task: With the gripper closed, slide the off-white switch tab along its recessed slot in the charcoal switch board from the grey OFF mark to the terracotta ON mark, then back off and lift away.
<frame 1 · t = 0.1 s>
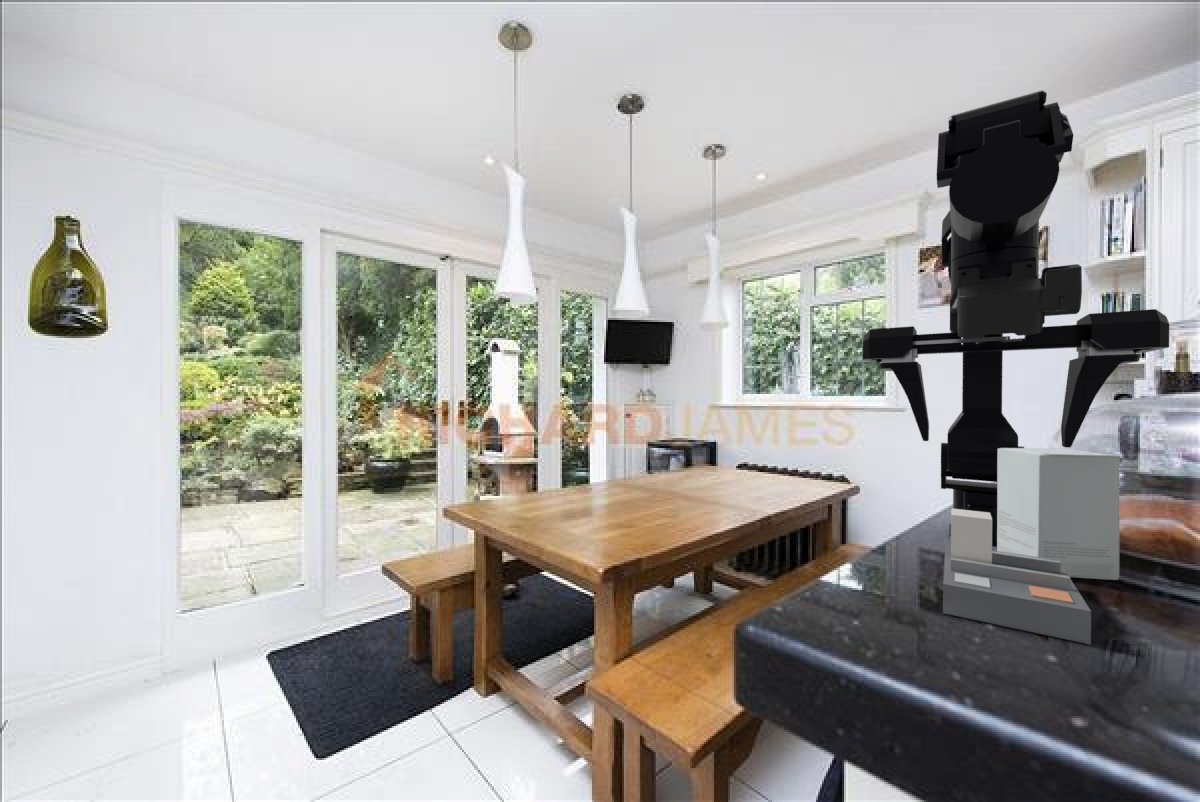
hand: (991, 443, 41), 14 cm above the countertop, fingers open, 9 cm apart
switch board: (1004, 598, 45), on the countertop
switch tab: (970, 539, 46), point 5 cm above the countertop, slide at 0.0 cm
supplement box: (1053, 568, 53), on the countertop
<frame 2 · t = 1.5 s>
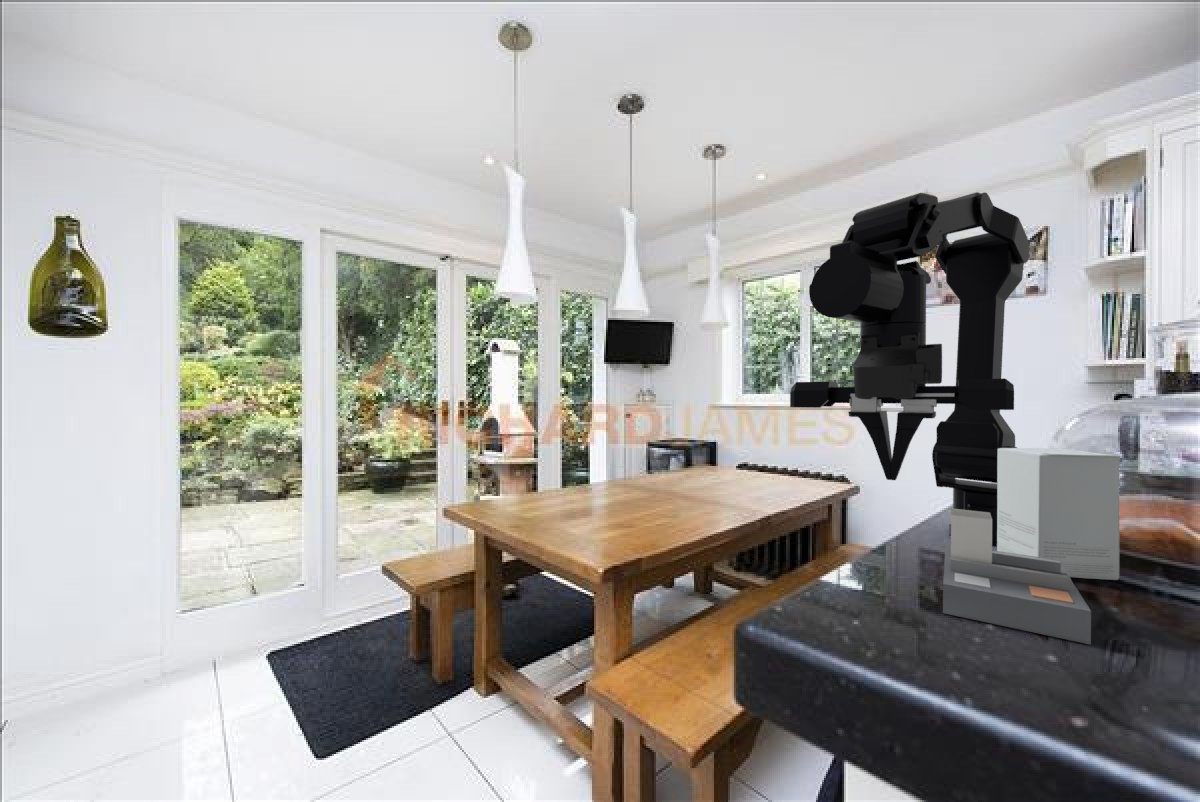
hand: (891, 479, 50), 10 cm above the countertop, fingers closed
nothing on the countertop moved.
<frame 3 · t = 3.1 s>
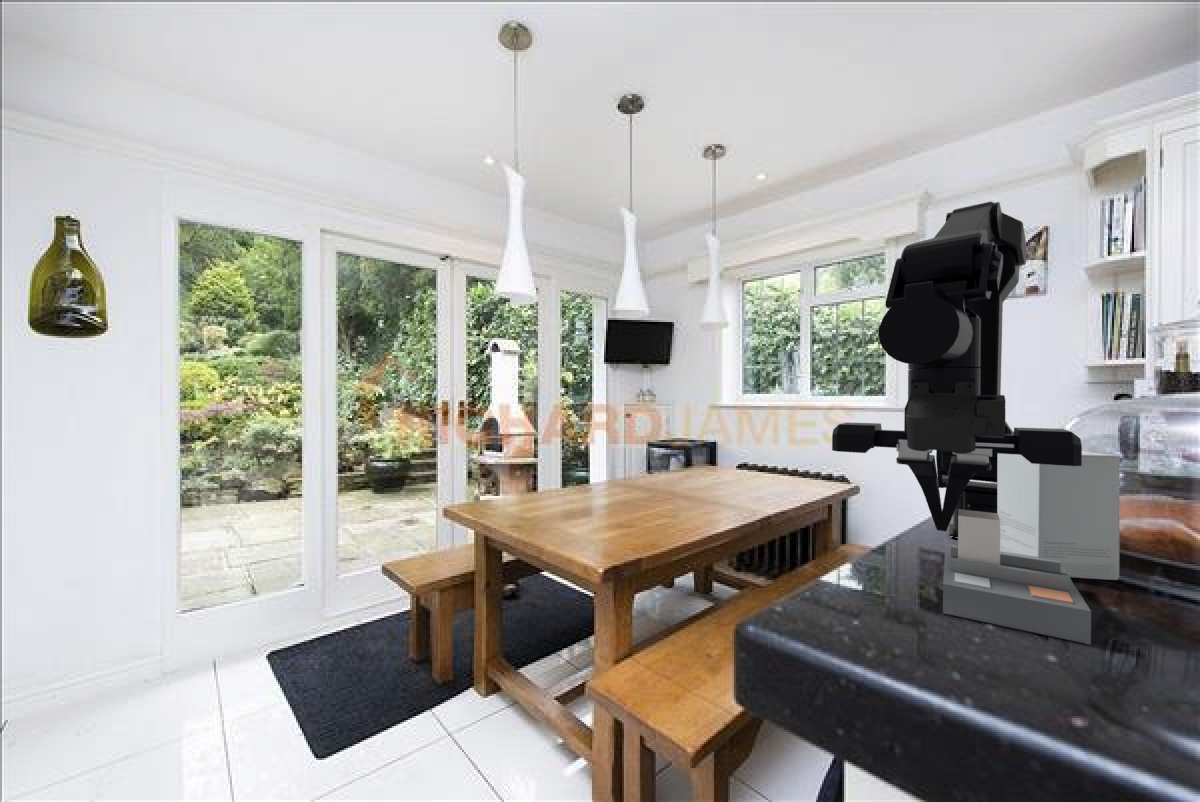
hand: (941, 530, 47), 5 cm above the countertop, fingers closed
switch tab: (978, 540, 46), point 5 cm above the countertop, slide at 0.6 cm, touching gripper
everything else where it was.
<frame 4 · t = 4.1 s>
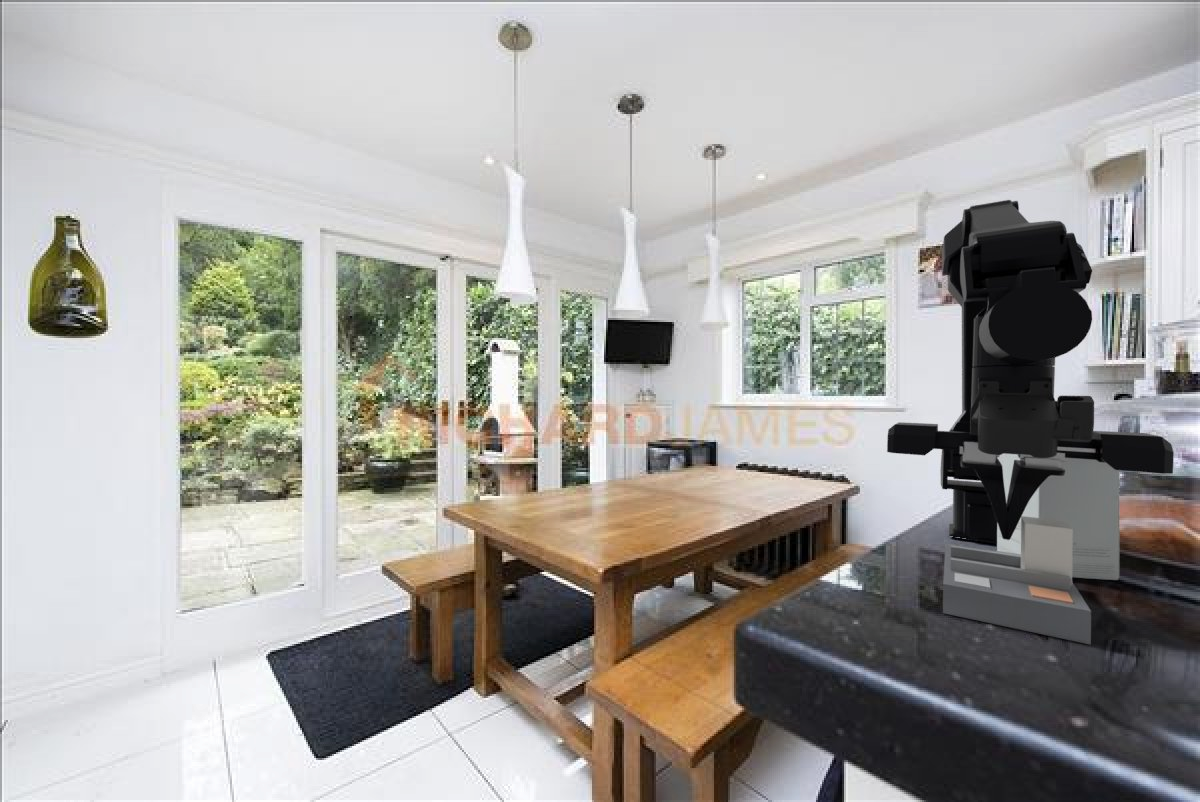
hand: (1006, 538, 44), 5 cm above the countertop, fingers closed
switch tab: (1045, 549, 43), point 5 cm above the countertop, slide at 5.2 cm, touching gripper
everything else where it was.
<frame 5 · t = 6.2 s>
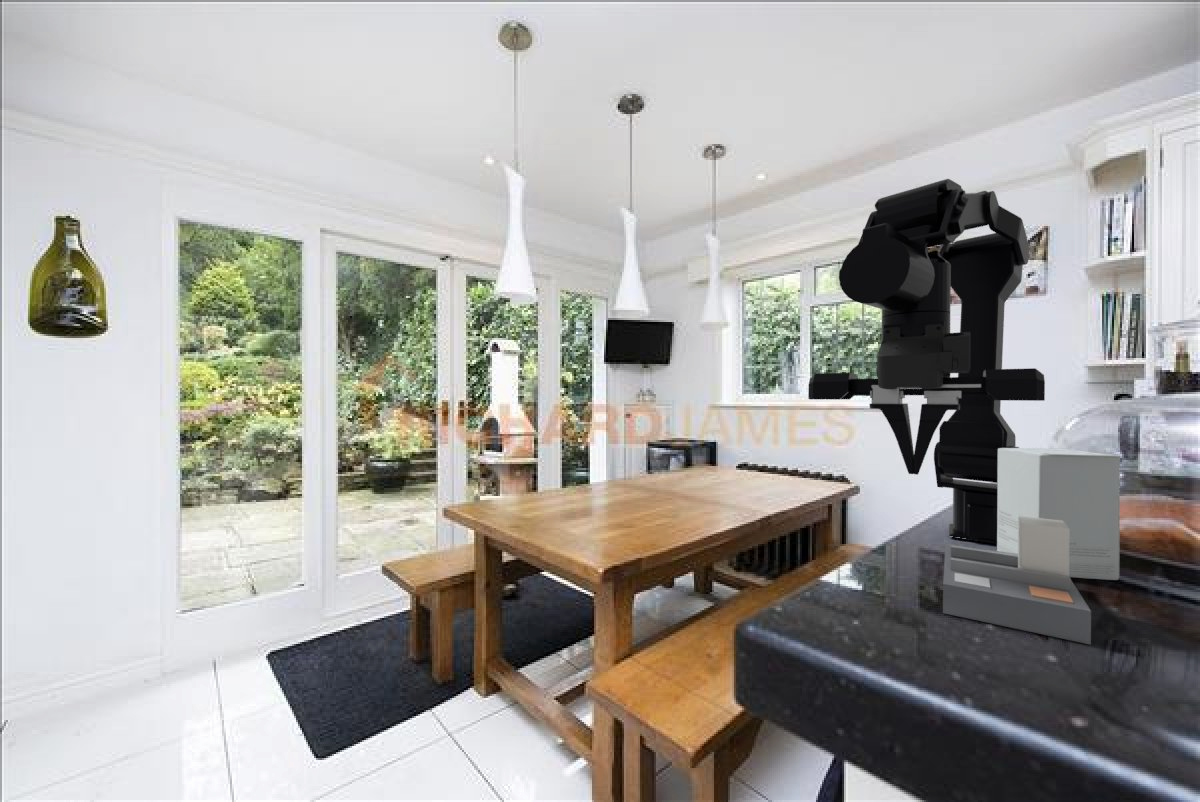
hand: (913, 473, 48), 11 cm above the countertop, fingers closed
switch tab: (1042, 548, 43), point 5 cm above the countertop, slide at 5.1 cm
everything else where it was.
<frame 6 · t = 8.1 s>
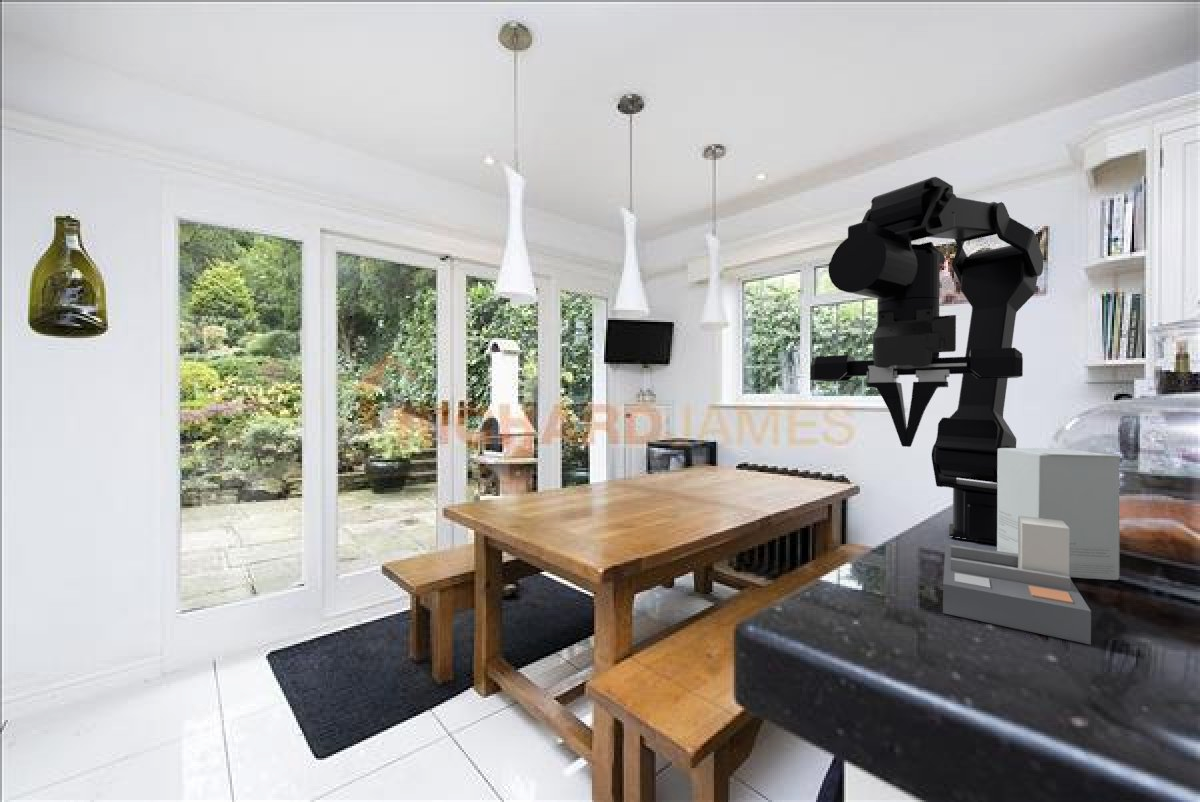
hand: (906, 446, 53), 13 cm above the countertop, fingers closed
nothing on the countertop moved.
at the end: switch tab slide at 5.1 cm; supplement box moved 0.2 cm from its start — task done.
